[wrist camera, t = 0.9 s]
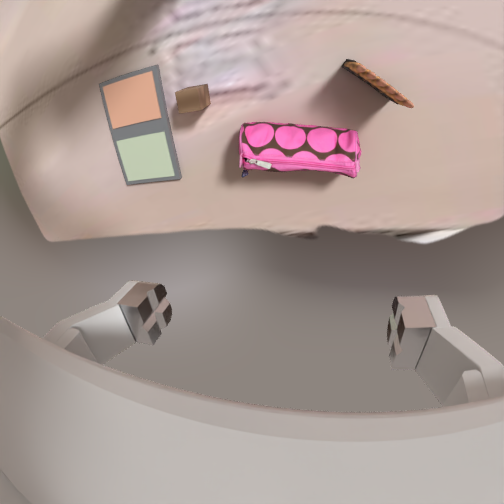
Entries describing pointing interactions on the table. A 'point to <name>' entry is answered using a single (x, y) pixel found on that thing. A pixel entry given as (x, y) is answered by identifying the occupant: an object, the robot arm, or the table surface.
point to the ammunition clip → (376, 83)
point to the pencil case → (298, 148)
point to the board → (141, 126)
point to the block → (193, 98)
